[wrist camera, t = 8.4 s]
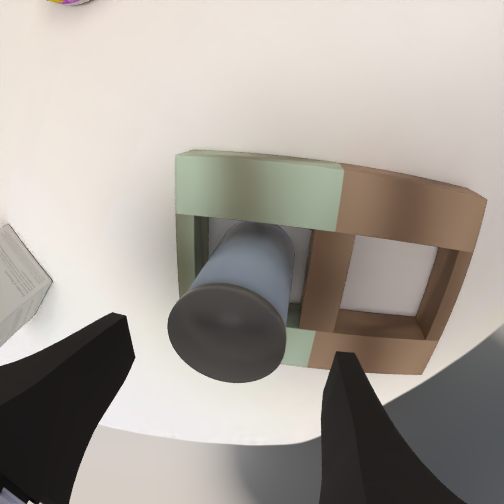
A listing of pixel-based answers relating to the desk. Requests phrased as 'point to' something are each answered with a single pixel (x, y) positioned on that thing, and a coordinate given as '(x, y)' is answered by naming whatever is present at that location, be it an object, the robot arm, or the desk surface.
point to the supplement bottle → (69, 2)
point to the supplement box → (18, 284)
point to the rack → (335, 245)
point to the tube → (237, 306)
